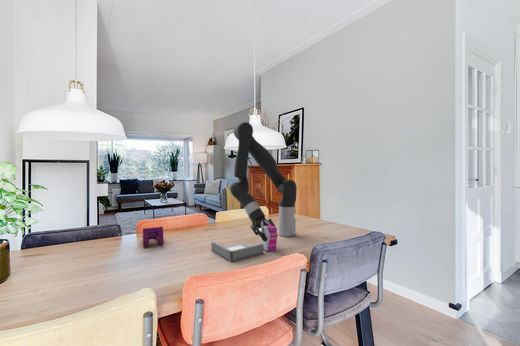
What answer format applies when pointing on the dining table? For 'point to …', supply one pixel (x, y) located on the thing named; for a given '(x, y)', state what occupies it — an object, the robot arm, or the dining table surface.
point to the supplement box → (270, 238)
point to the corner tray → (236, 251)
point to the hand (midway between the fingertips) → (271, 238)
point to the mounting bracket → (152, 235)
